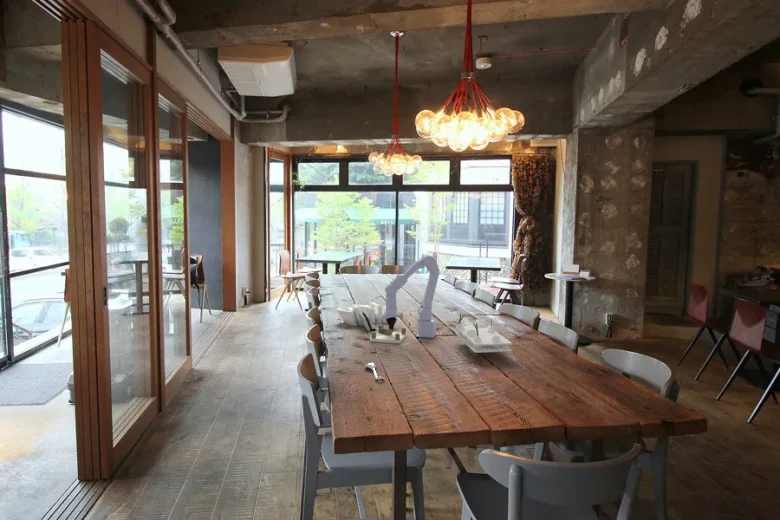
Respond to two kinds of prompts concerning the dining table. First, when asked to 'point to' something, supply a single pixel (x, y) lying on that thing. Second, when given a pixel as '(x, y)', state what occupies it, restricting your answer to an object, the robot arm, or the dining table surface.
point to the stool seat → (389, 337)
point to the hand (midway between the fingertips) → (391, 331)
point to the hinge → (366, 321)
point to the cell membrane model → (482, 337)
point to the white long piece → (372, 366)
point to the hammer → (384, 330)
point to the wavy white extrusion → (353, 313)
